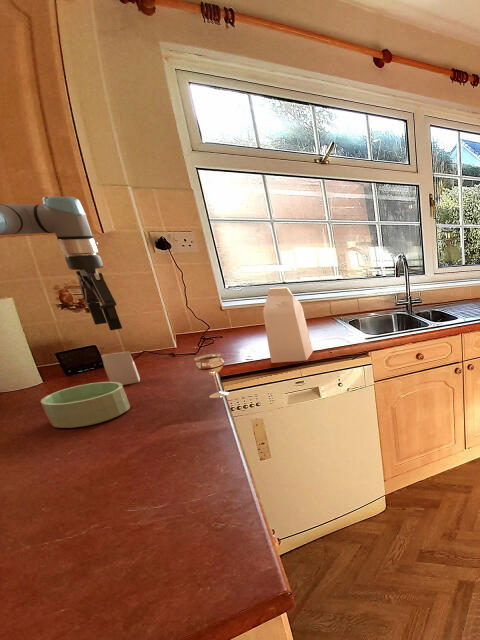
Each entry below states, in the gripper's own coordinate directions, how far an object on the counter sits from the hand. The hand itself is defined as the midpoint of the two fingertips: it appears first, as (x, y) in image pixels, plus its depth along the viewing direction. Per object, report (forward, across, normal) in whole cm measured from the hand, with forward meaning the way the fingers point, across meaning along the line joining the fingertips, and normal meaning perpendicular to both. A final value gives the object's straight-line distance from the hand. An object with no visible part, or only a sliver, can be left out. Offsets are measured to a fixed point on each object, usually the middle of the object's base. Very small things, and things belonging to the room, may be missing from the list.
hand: (108, 326), depth 130 cm
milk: (+19, -20, -44) cm, 52 cm away
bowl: (+19, -23, +15) cm, 33 cm away
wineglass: (+19, -36, -11) cm, 42 cm away
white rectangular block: (+19, +1, 0) cm, 19 cm away
